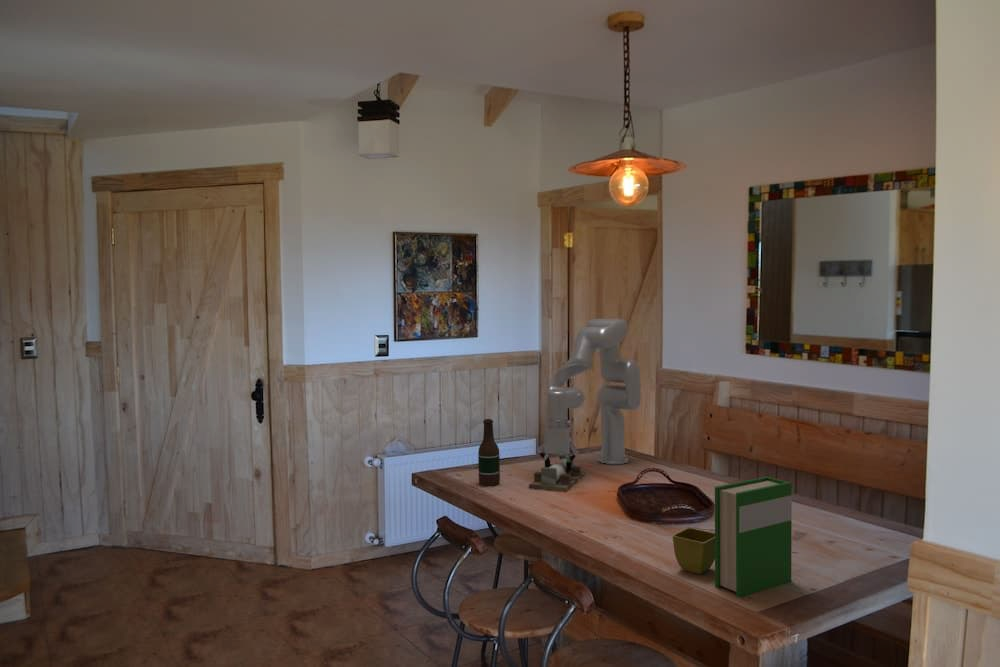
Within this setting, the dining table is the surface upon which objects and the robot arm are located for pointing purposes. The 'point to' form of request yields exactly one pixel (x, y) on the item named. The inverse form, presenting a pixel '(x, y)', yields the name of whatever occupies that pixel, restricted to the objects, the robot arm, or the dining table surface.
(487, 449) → the beer bottle
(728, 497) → the hardback book
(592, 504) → the dining table surface
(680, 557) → the flower pot
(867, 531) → the dining table surface
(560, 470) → the roll
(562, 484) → the cradle
